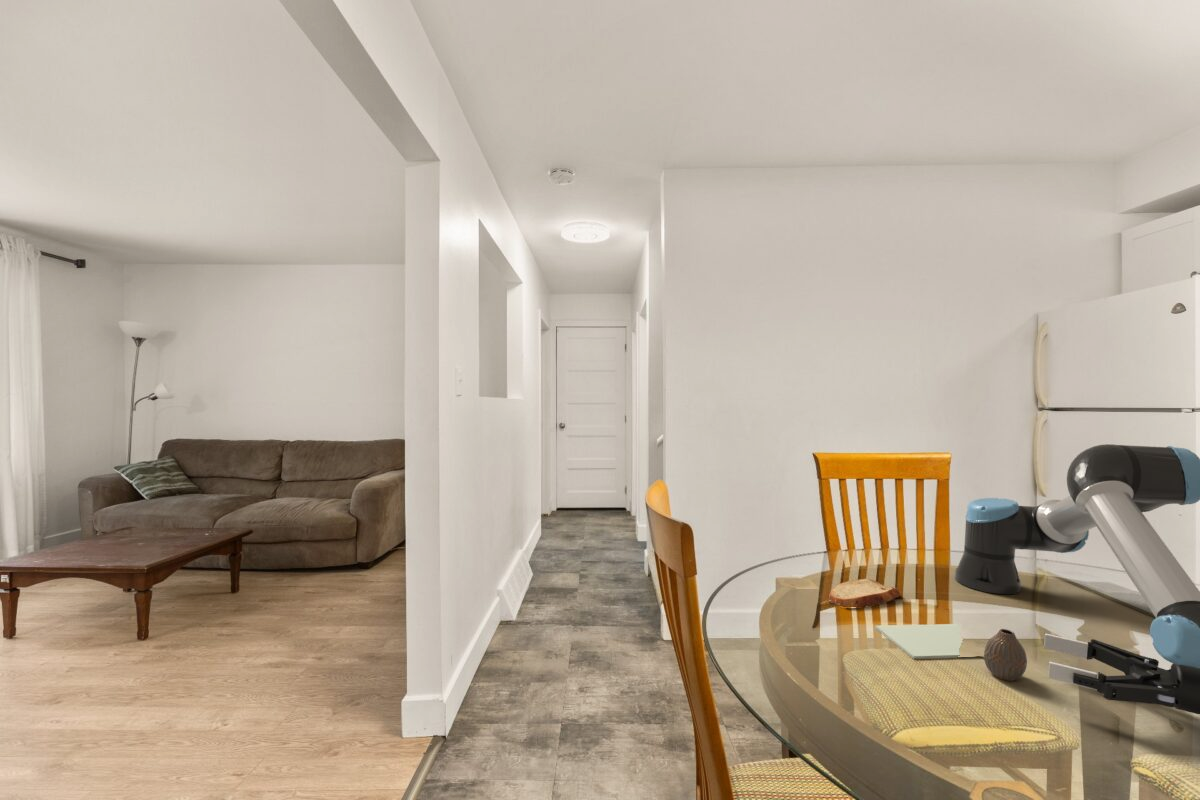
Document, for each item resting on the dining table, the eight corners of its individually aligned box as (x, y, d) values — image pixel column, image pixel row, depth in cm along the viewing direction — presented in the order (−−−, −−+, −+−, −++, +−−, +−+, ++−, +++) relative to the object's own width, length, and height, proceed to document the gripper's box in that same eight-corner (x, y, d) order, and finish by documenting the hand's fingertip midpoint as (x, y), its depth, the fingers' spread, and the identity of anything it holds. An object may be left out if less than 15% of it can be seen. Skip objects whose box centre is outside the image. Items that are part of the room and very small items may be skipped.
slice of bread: (830, 608, 147) (831, 593, 147) (824, 582, 164) (824, 569, 164) (911, 618, 142) (912, 603, 142) (895, 591, 159) (896, 577, 159)
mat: (957, 626, 138) (957, 623, 138) (1004, 656, 124) (1004, 653, 124) (875, 628, 136) (875, 625, 136) (913, 659, 122) (913, 656, 122)
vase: (974, 666, 119) (977, 623, 119) (1006, 666, 120) (1010, 623, 119) (1000, 685, 113) (1003, 640, 112) (1034, 684, 113) (1038, 639, 113)
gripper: (1225, 753, 90) (1049, 704, 102) (1184, 681, 111) (1041, 648, 122) (1230, 705, 90) (1052, 662, 101) (1187, 642, 110) (1044, 612, 122)
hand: (1046, 654), depth 112 cm, fingers open, 13 cm apart
